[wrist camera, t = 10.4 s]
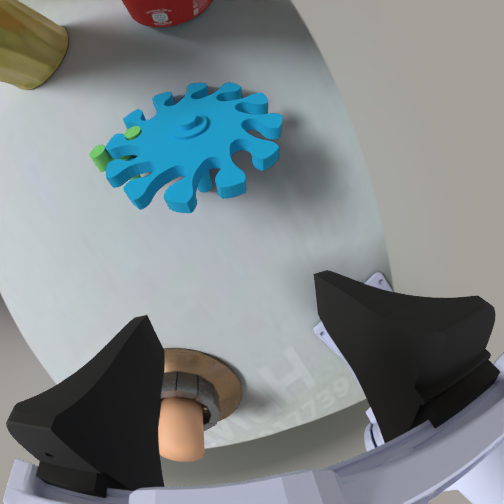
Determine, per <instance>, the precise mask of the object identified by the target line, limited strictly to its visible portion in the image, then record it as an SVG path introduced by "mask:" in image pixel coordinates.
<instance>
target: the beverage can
mask: <svg viewBox="0 0 504 504" xmlns="http://www.w3.org/2000/svg"><path fill="white" fill-rule="evenodd" d="M122 2H123V3H124V5H125V7H126V8H127V10H128V12H129V13H130V15H131V16H132V18H133V19H134V20H135V21H137V22H138V23H140V24H142V25H145V26H150V27H169V26H175V25H178V24H182V23H184V22H187V21H189V20H191V19H193V18H195V17H197V16H198V15H200V14H201V13H202V12H203V11H204V10H206V9H207V7H208V6H209V5H210V4H211V2H212V0H122Z"/></svg>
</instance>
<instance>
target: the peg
mask: <svg viewBox="0 0 504 504" xmlns="http://www.w3.org/2000/svg"><path fill="white" fill-rule="evenodd" d="M158 438H159V453H160V455H162V456H163V457H165V458H168V459H171V460H174V461H181V462H188V461H189V462H190V461H196V460H199V459H201V458H202V457H203V456H204V454H205V453H204V432H203V404H202V403H200V402H198V401H196V400H195V399H190V398H184V397H179V396H174V397H167V398H162V402H161V410H160V419H159V429H158Z"/></svg>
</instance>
